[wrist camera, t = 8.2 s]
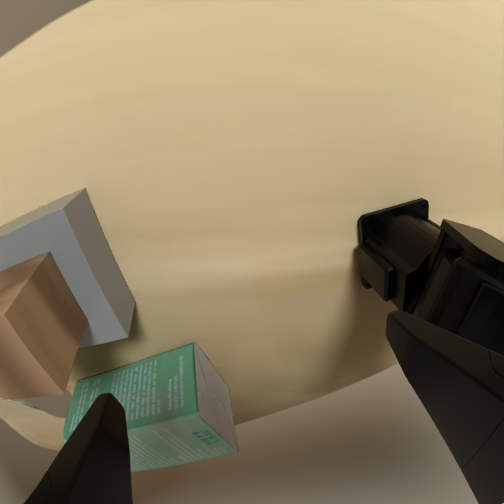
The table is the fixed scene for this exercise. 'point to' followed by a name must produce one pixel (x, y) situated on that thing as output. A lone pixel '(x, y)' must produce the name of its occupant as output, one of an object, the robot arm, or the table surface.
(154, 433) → the box
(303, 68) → the table surface
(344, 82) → the table surface
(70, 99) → the table surface
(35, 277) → the block
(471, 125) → the table surface
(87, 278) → the base
